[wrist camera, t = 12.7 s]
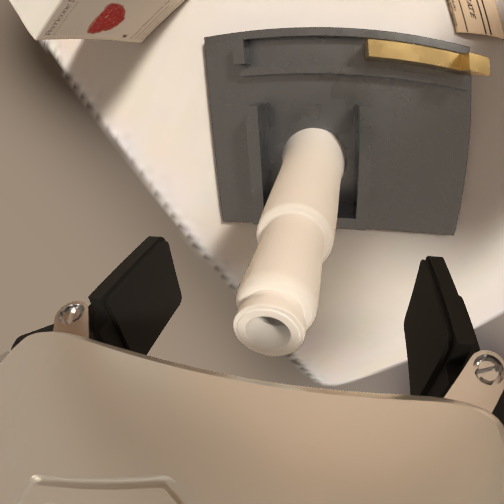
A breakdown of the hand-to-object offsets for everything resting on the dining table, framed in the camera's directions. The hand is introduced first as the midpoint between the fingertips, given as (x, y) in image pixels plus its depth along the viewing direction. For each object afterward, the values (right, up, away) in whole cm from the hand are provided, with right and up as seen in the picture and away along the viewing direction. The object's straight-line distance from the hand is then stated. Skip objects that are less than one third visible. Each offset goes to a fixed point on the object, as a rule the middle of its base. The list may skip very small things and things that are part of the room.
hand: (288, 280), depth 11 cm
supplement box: (-12, +28, +12) cm, 33 cm away
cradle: (+7, +12, +15) cm, 21 cm away
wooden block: (+13, +18, +9) cm, 24 cm away
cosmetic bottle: (+5, +10, +17) cm, 20 cm away
